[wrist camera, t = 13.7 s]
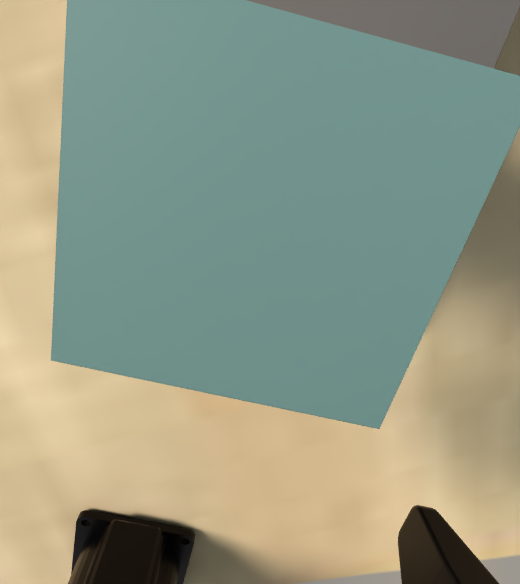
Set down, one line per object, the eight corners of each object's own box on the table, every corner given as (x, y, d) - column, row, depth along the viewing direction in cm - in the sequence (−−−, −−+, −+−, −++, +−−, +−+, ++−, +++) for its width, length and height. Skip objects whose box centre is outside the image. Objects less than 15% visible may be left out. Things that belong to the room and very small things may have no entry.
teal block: (339, 287, 12) (378, 428, 7) (140, 241, 11) (51, 360, 7) (415, 71, 9) (541, 81, 5) (171, 4, 9) (69, -49, 5)
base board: (373, 306, 20) (382, 331, 18) (89, 240, 19) (68, 259, 17) (505, -25, 14) (538, -36, 13) (119, -139, 14) (96, -169, 12)
